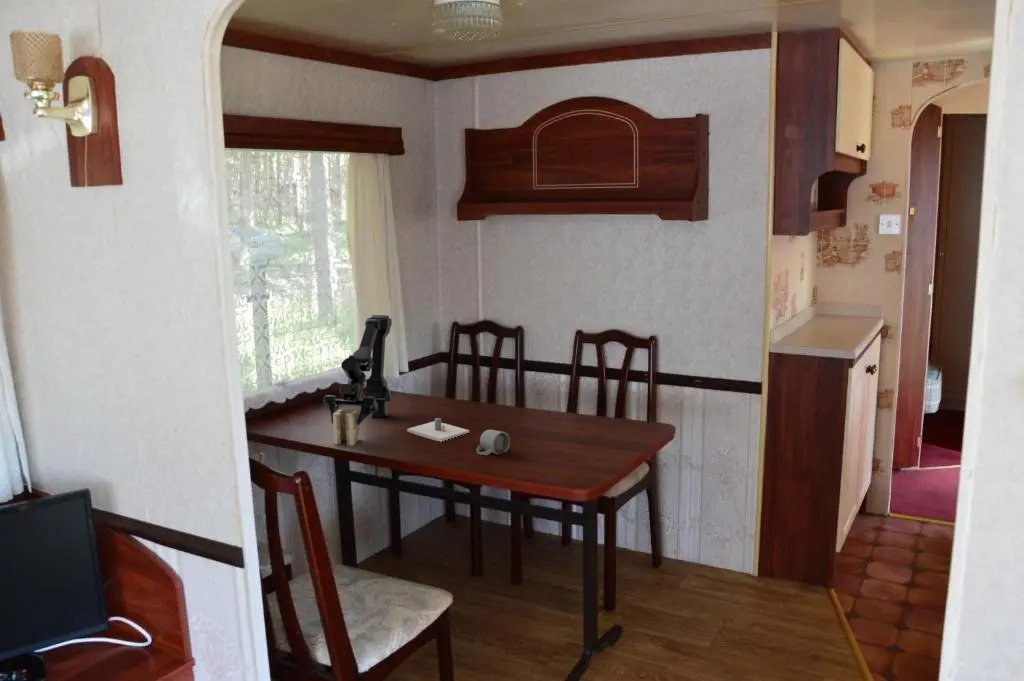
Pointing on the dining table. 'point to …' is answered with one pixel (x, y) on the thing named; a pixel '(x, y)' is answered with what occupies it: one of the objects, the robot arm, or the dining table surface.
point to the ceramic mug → (493, 442)
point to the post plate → (437, 430)
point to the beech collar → (346, 426)
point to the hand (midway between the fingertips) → (345, 424)
